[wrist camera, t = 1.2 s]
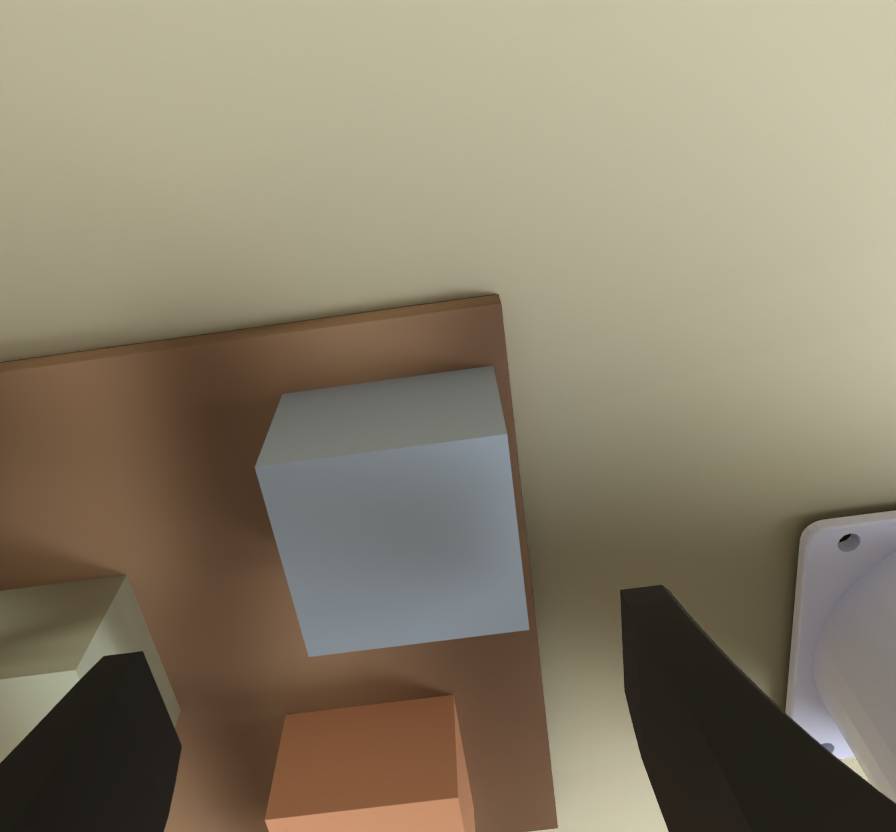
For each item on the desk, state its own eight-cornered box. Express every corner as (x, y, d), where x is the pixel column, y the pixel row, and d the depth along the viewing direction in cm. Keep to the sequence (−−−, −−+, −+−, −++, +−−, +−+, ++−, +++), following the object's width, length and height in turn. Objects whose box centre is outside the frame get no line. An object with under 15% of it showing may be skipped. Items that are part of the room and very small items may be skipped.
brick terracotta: (453, 694, 20) (458, 797, 18) (473, 807, 22) (480, 915, 19) (285, 715, 20) (264, 819, 18) (320, 824, 22) (306, 934, 20)
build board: (498, 294, 16) (517, 362, 13) (554, 809, 23) (576, 936, 20) (-207, 391, 17) (-359, 480, 13) (61, 866, 24) (4, 998, 20)
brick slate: (493, 365, 16) (506, 434, 13) (513, 539, 18) (529, 629, 15) (282, 393, 16) (254, 467, 14) (325, 563, 18) (308, 657, 16)
